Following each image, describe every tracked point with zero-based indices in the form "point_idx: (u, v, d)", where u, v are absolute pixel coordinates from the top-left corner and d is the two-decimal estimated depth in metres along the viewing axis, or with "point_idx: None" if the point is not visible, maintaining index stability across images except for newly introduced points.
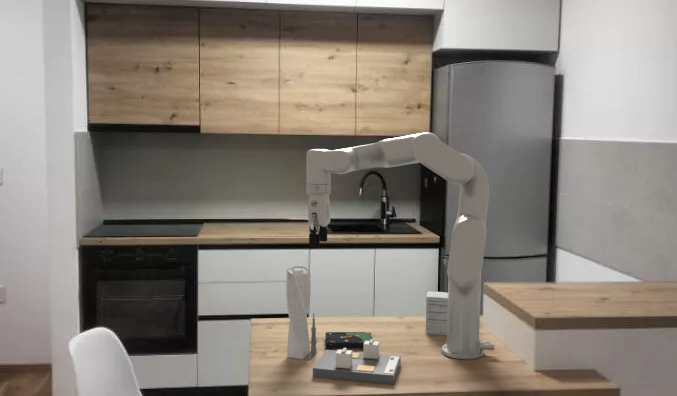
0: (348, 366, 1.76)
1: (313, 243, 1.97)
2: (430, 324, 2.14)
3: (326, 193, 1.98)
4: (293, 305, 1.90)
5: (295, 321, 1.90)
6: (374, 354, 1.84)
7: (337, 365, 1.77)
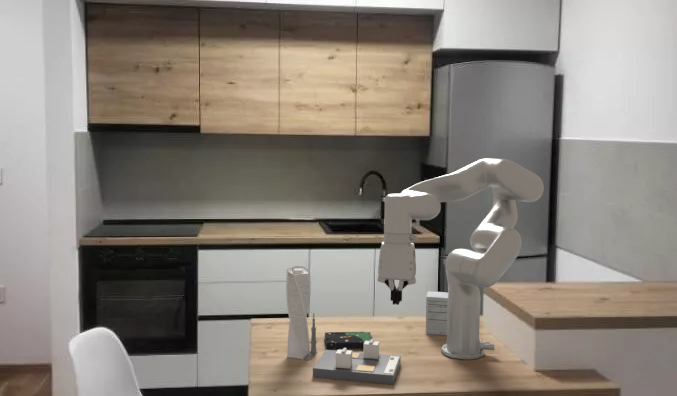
0: (348, 366, 1.76)
1: (401, 299, 1.82)
2: (430, 324, 2.14)
3: None
4: (293, 305, 1.90)
5: (295, 321, 1.90)
6: (374, 354, 1.84)
7: (337, 365, 1.77)
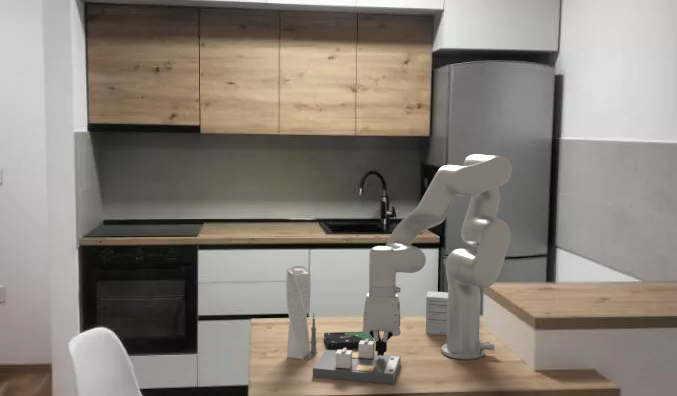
0: (348, 366, 1.76)
1: (386, 350, 1.84)
2: (430, 324, 2.14)
3: None
4: (293, 305, 1.90)
5: (295, 321, 1.90)
6: (369, 354, 1.84)
7: (337, 365, 1.77)
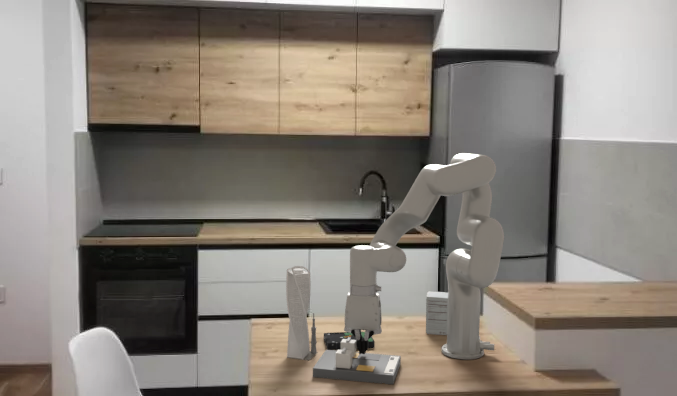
0: (348, 366, 1.76)
1: (367, 348, 1.85)
2: (430, 324, 2.14)
3: None
4: (293, 305, 1.90)
5: (295, 321, 1.90)
6: None
7: (337, 365, 1.77)
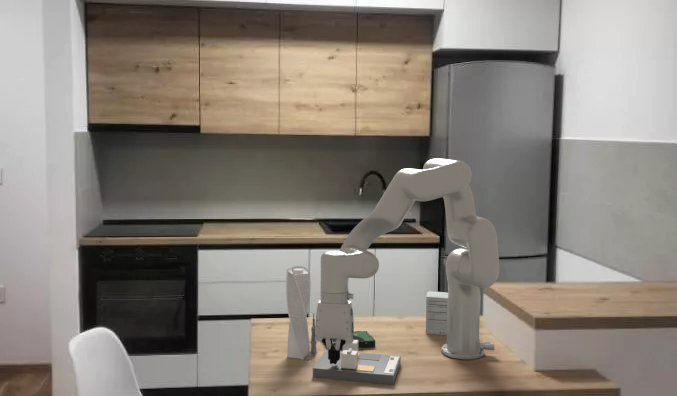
0: (354, 366, 1.76)
1: (339, 358, 1.78)
2: (430, 324, 2.14)
3: None
4: (293, 305, 1.90)
5: (295, 321, 1.90)
6: None
7: (342, 365, 1.76)
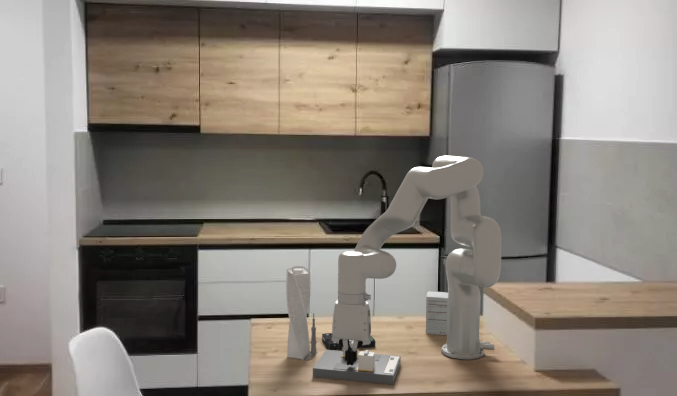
0: (371, 368, 1.75)
1: (356, 359, 1.77)
2: (430, 324, 2.14)
3: None
4: (293, 305, 1.90)
5: (295, 321, 1.90)
6: None
7: (360, 367, 1.75)
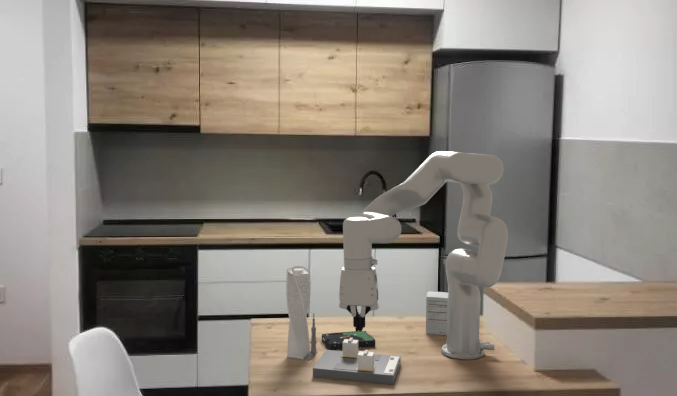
0: (370, 368, 1.75)
1: (364, 325, 1.76)
2: (430, 324, 2.14)
3: None
4: (293, 305, 1.90)
5: (295, 321, 1.90)
6: (353, 352, 1.85)
7: (359, 367, 1.75)
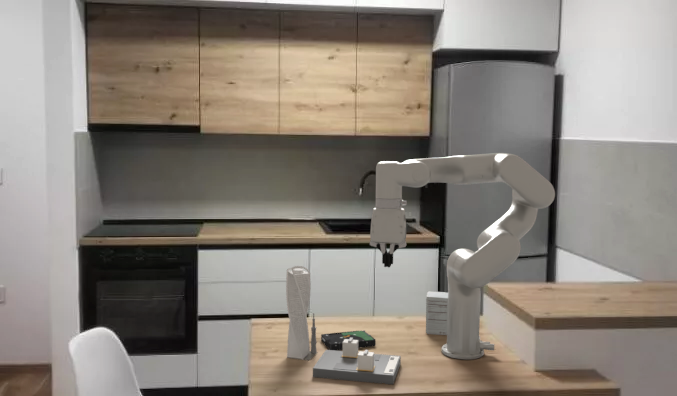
0: (370, 368, 1.75)
1: (392, 262, 1.90)
2: (430, 324, 2.14)
3: None
4: (293, 305, 1.90)
5: (295, 321, 1.90)
6: (353, 352, 1.85)
7: (359, 367, 1.75)
